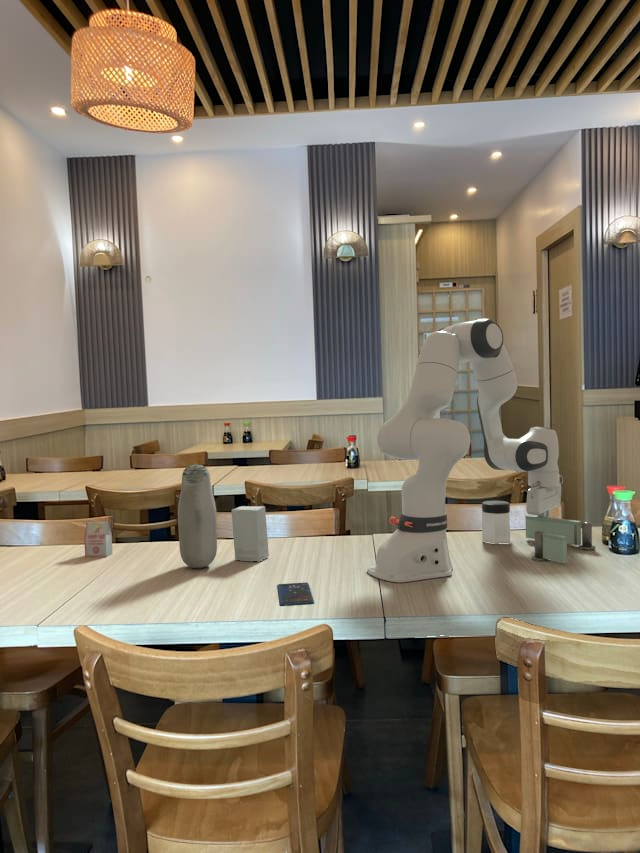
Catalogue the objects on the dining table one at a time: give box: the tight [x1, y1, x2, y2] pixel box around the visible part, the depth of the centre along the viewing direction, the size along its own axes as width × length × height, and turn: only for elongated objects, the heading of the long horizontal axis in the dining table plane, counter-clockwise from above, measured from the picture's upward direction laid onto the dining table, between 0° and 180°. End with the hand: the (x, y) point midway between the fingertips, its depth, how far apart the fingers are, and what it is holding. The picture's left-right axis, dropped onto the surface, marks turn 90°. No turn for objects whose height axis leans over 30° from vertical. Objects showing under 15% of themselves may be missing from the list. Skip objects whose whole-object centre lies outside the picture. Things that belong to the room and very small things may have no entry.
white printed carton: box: [83, 521, 113, 558], centre depth 184 cm, size 4×7×10 cm, turn 82°
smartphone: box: [277, 582, 315, 607], centre depth 142 cm, size 8×1×15 cm
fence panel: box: [542, 532, 568, 564], centre depth 162 cm, size 2×6×7 cm, turn 31°
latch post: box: [530, 531, 549, 563], centre depth 166 cm, size 6×5×8 cm
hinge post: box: [578, 521, 596, 551], centre depth 176 cm, size 4×4×8 cm
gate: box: [524, 514, 582, 546], centre depth 183 cm, size 16×2×7 cm, turn 46°
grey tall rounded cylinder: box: [177, 463, 218, 569], centre depth 167 cm, size 10×10×28 cm
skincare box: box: [231, 505, 270, 563], centre depth 174 cm, size 8×6×15 cm
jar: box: [481, 500, 511, 544], centre depth 187 cm, size 9×8×12 cm
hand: (543, 525), depth 188 cm, fingers closed
